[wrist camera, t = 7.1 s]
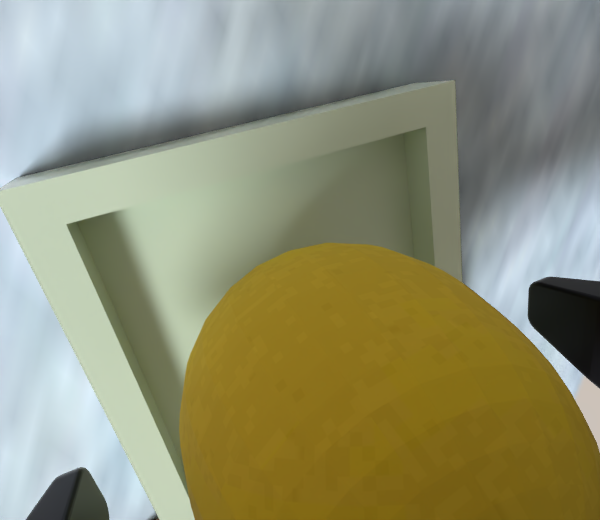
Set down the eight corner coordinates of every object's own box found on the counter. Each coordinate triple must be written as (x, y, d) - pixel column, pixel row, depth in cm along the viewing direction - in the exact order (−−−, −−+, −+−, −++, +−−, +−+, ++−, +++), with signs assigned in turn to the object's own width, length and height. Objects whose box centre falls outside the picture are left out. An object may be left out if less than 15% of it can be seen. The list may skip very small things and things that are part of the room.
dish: (435, 370, 14) (466, 398, 13) (165, 489, 12) (169, 538, 10) (414, 82, 10) (455, 80, 9) (16, 177, 8) (-7, 192, 7)
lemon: (338, 162, 10) (872, 293, 3) (404, 339, 12) (780, 661, 5) (115, 279, 9) (11, 957, 2) (233, 445, 11) (394, 1018, 4)
